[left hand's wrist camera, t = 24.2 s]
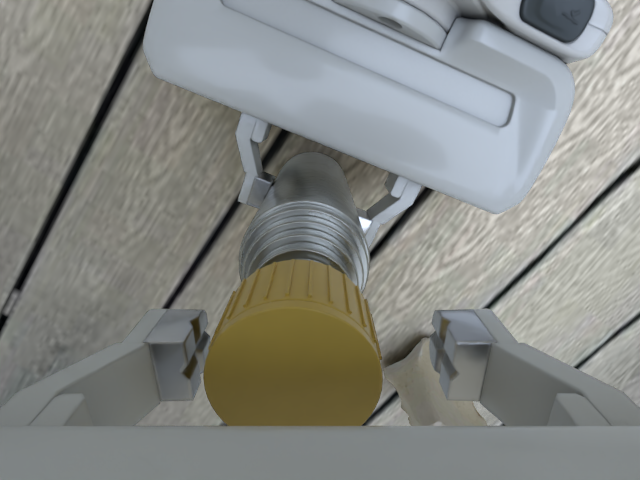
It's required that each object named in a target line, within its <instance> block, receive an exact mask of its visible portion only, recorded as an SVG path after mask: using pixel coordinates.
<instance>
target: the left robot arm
mask: <svg viewBox="0 0 640 480" xmlns="http://www.w3.org/2000/svg"><path fill="white" fill-rule="evenodd" d="M207 325H208V319H207V313H206V312H205V310H188V309H151V310H148V311H147V313H146V314H145V315H144V316H143V318H142V319H141V320H140V321H139V322H138V324H137V325H136V326H135V327H134V329H133V330H132V331H131V332H130V333H129V335H128V336H127V337H126V338H125V339H124V341H123V342H122V343H115V344H113V345H111V346H109V347H107V348H105V349H103V350H101V351H99V352H97V353H95V354H93V355H91V356H89V357H87V358H84V359H82V360H80V361H78V362H76V363H74V364H72V365H70V366H68V367H66V368H64V369H62V370H60V371H58V372H56V373H54V374H52V375H50V376H48V377H46V378H44V379H42V380H40V381H38V382H36V383H34V384H32V385H30V386H28V387H26V388H24V389H22V390H20V391H18V392H16V393H15V394H14V395H13V396H12V397H11V398H10V399H9V400H8V401H7V402H6V403H5V404H4V405H3V406H2V407H1V408H0V480H640V408H639V407H638V406H637V405H636V404H635V403H634V402H633V401H632V400H631V399H630V398H629V397H628V396H627V395H626V394H625V393H624V392H622V391H620V390H618V389H616V388H614V387H612V386H610V385H608V384H606V383H604V382H602V381H600V380H598V379H596V378H594V377H592V376H590V375H588V374H586V373H584V372H582V371H580V370H578V369H576V368H574V367H572V366H570V365H568V364H565V363H563V362H561V361H559V360H557V359H555V358H553V357H551V356H549V355H547V354H545V353H543V352H541V351H539V350H537V349H535V348H533V347H531V346H529V345H527V344H525V343H518V342H517V341H516V340H515V338H514V337H513V336H512V335H511V333H510V332H509V331H508V330H507V329H506V327H505V326H504V325H503V324H502V322H501V321H500V320H499V319H498V318H497V316H496V315H495V314H494V313H493V312H492V310H489V309H469V310H435V311H434V314H433V319H432V325H433V327H434V329H435V332H434V333H433V334H432V335H431V336H430V343H429V352H430V359H431V363H432V366H433V368H434V370H435V371H436V372H438V373H439V374H440V379H439V383H440V385H441V387H442V390H443V392H444V394H445V397H446V399H447V400H451V401H480V403H481V404H482V405H483V406H484V407H485V408H486V409H487V410H489V411H490V412H491V413H492V414H493V415H494V416H496V417H497V418H498V419H499V420H500V421H501V422H503V423H504V424H505V425H506V426H134V425H135V424H136V423H138V422H139V421H140V420H141V419H142V418H143V417H145V416H146V415H147V414H148V413H149V412H150V411H152V410H153V409H154V408H155V407H156V406H157V405H159V404H160V401H188V400H193V399H194V397H195V394H196V392H197V390H198V387H199V385H200V383H201V379H200V374H201V373H202V372H204V366H205V361H206V358H207V355H208V352H209V350H208V347H209V345H210V343H211V342H210V336H209V335H208V334H207V333H206V332H205V329H206V327H207Z"/></svg>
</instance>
